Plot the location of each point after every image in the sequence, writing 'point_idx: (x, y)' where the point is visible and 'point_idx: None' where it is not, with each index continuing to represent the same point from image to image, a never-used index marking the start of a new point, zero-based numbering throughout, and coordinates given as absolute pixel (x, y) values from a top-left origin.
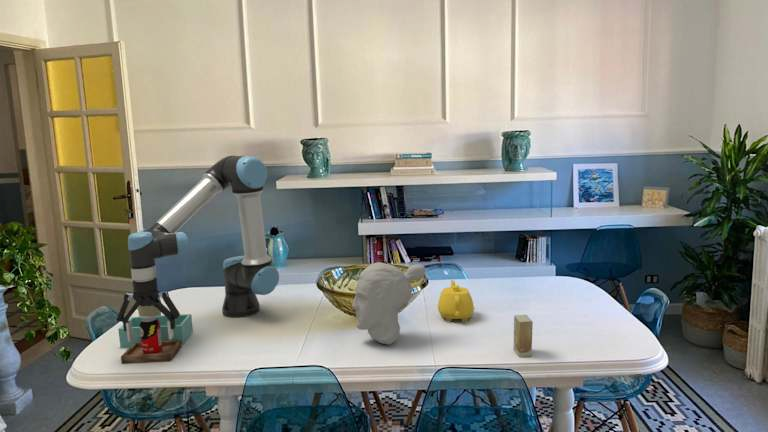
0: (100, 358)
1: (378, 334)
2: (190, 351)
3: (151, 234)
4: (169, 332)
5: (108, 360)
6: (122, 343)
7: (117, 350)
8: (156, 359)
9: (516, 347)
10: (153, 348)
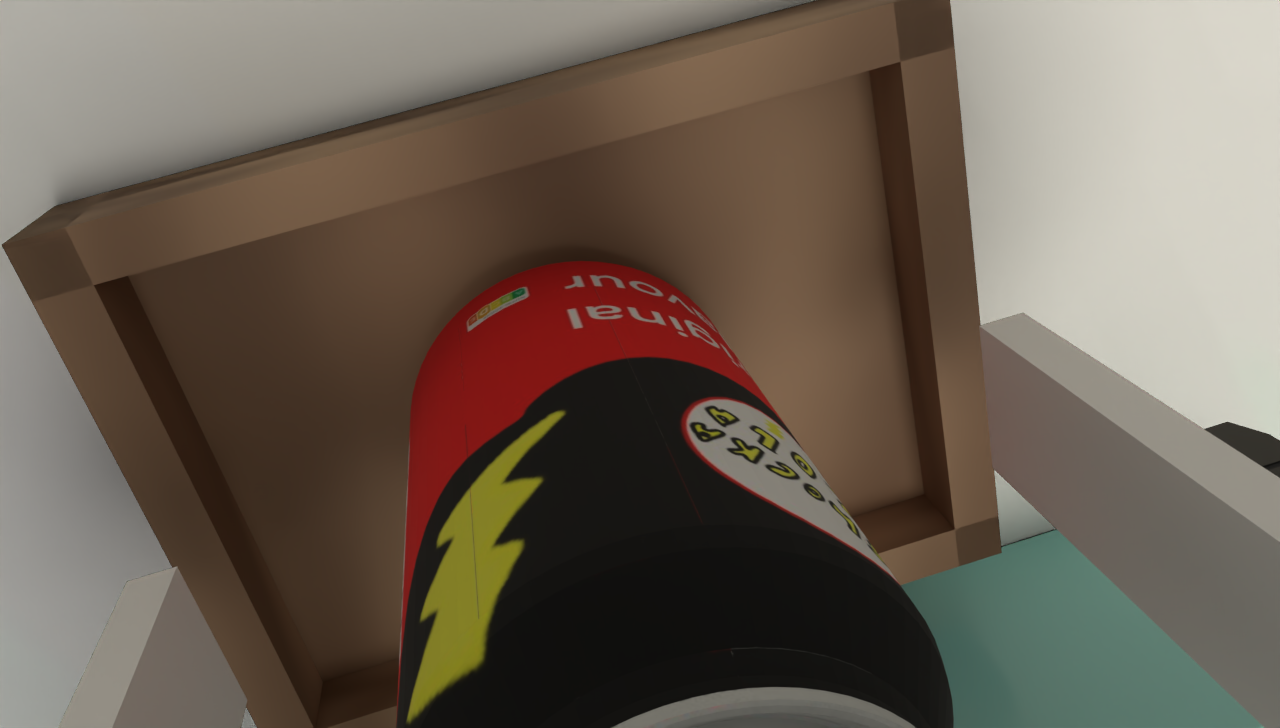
0: None
1: None
2: (17, 599)
3: None
4: (96, 688)
5: (1158, 74)
6: None
7: (1177, 407)
8: (302, 148)
9: None
10: (460, 333)
